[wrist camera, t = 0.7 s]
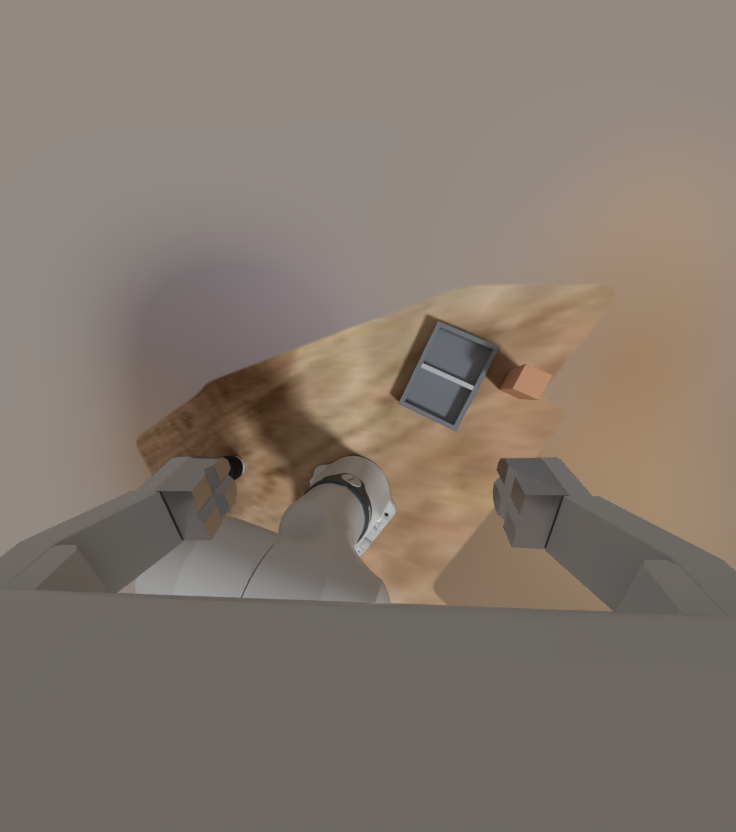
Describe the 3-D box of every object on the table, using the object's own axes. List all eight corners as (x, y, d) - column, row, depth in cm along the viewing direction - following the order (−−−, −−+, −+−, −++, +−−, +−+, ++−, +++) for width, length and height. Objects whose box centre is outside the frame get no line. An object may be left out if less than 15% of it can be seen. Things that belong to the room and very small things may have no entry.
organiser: (455, 429, 57) (456, 431, 54) (400, 403, 59) (398, 403, 56) (496, 349, 55) (500, 347, 52) (438, 324, 57) (438, 321, 54)
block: (520, 399, 54) (538, 399, 45) (499, 389, 55) (512, 388, 45) (531, 378, 54) (552, 375, 44) (510, 369, 54) (525, 364, 45)
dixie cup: (257, 463, 67) (223, 476, 57) (239, 490, 69) (203, 507, 58) (231, 442, 68) (193, 450, 58) (214, 468, 70) (174, 481, 59)
